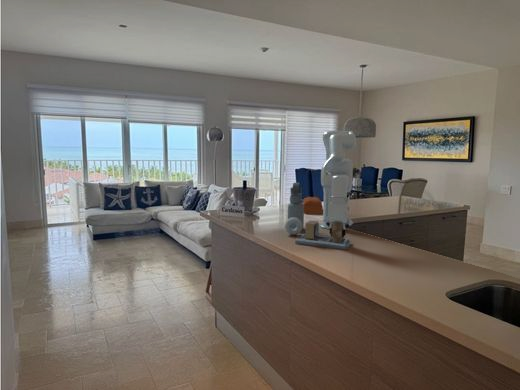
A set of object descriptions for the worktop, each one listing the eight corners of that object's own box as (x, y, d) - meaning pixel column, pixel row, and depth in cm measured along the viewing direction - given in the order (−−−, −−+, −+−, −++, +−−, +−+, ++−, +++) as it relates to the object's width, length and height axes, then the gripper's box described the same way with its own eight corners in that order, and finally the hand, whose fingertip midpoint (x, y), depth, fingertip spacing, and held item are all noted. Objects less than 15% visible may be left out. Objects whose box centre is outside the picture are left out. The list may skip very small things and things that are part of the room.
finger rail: (302, 238, 190) (303, 219, 189) (351, 243, 180) (352, 223, 178) (295, 243, 179) (295, 223, 178) (346, 249, 168) (347, 228, 167)
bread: (302, 214, 263) (302, 200, 262) (301, 208, 289) (302, 195, 288) (323, 215, 261) (323, 201, 260) (320, 209, 288) (321, 196, 286)
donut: (284, 235, 196) (285, 218, 194) (284, 234, 199) (284, 216, 198) (302, 235, 196) (303, 218, 195) (301, 234, 199) (302, 217, 198)
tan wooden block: (330, 240, 173) (331, 223, 172) (334, 237, 181) (334, 220, 180) (340, 242, 171) (341, 224, 170) (343, 238, 179) (344, 221, 177)
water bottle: (302, 231, 207) (303, 184, 203) (286, 230, 209) (287, 183, 205) (304, 227, 217) (305, 182, 213) (288, 226, 219) (289, 182, 215)
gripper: (357, 200, 173) (356, 236, 176) (323, 198, 180) (322, 232, 183) (355, 202, 167) (353, 239, 169) (320, 200, 174) (318, 236, 176)
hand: (337, 235), depth 176 cm, fingers closed on tan wooden block, 5 cm apart
